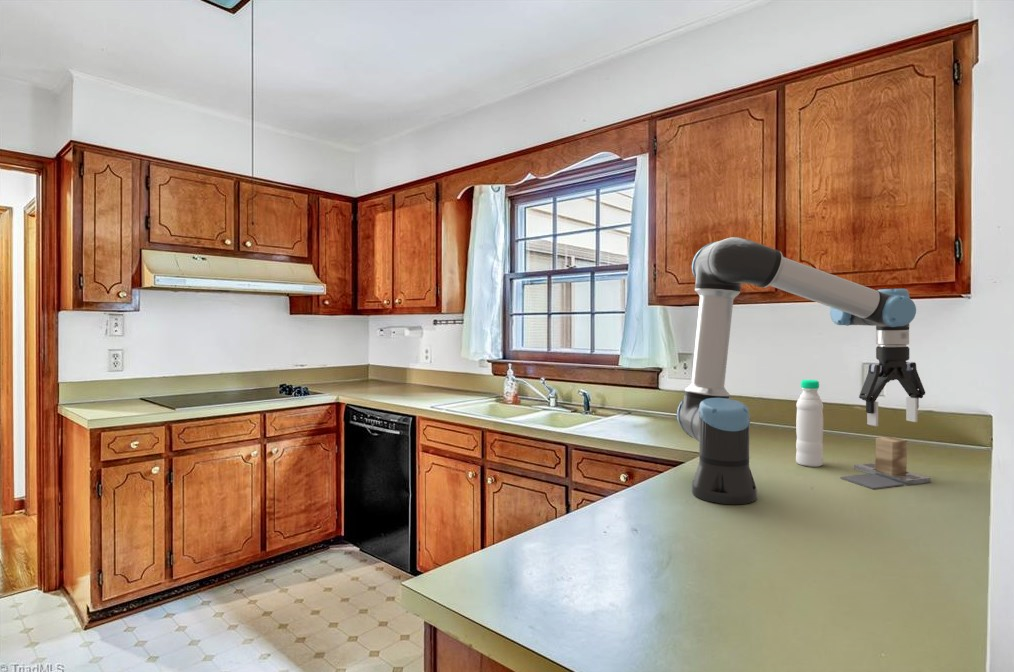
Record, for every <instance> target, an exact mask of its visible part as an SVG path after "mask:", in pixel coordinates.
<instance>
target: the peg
mask: <svg viewBox="0 0 1014 672" xmlns="http://www.w3.org/2000/svg"><path fill="white" fill-rule="evenodd" d="M907 450H908V440H904V439H902V438H897V437H893V436H885V437H883V436H882V437H876V438H875V462H874V463H875V470H877V471H880V472H883V473H887V474H890V475H898V474H906V471H907V463H908V462H907V459H908V458H907V457H908V456H907V455H908V451H907Z"/></svg>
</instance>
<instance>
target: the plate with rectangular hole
mask: <svg viewBox="0 0 1014 672" xmlns="http://www.w3.org/2000/svg"><path fill="white" fill-rule="evenodd" d="M853 470H857V471H860V472H863V473H866V474H873V475H876V476H879V477H882V478H886V479H889V480H892V481H895V482H899V483H902V484H904V486H910V485H911V486H912V485H922V484H928V483H931V479H932V478H931V477H930V476H929V477H928V476H926V475H923V474H922V475H921V474H918V473H915V472H912V471H908V470H906V474H898V475H890V474H887V473H883V472H880V471H877V470H875V462H867V463H859V464H854V465H853Z"/></svg>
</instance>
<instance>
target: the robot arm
mask: <svg viewBox="0 0 1014 672" xmlns="http://www.w3.org/2000/svg"><path fill="white" fill-rule="evenodd" d="M691 272H692V275H693V277H694V279H695V286H694V291H695V292H696V293H697V295H698V296H699V301H698V303H699V304H698V305H699V306H698V312H697V314H698V315H697V321H696V322H697V323H696V331H695V340H694V342H695V343H694V351H693V352H694V353H693V362H692V370H691V371H692V372H691V381H690V384H689V385H688V386H686V387H684V392H683V399H682V400H681V401H680V403H679V405H678V407H677V410H676V418H677V422H678V425H679V426H680V428H681V429H682V430H683V432H684V433H686V435H688V436H689V437H690V438H693V439H695V440H696V441H698V443H699V444H698V445H699V446H698V448H699V449H698V452H699V454H698V455H699V457H698V458H699V461H698V466H697V468H696V470H695V471H696V472H695V475H694V478H693V481H692V482H691V493H692V494H693V496H695V497H697V498H698V499H700V498H701V499H700V500H703V501H707V502H710V501H711V503H714V502H715V503H716V504H720V505H721V504H722V505H746V504H751V503H753V502H755V501H756V500H757V499H758V489H757V486H756V483H755V479H754V476H753V474H752V470H751V468H750V431H751V430H750V429H751V428H750V425H751V424H750V423H751V418H750V410H749V408H748V406H747V405H746V404H745V403H743V402H741V401H739V400H737V399H736V400H735V399H732V398H730V393H729V392H728V391H727V390H726V387H725V385H726V384H725V383H726V382H725V381H726V374H727V362H728V354H729V346H730V345H729V344H730V335H731V325H732V316H733V307H734V300H735V298H736V297H738V296H739V294H741V289H742V284H749V285H754V286H757V287H760V288H762V289H763V288H768V287H773V288H776V289H778V290H781V291H783V292H786V293H789V294H792V295H795V296H798V297H801V298H804V299H806V300H809V301H813V302H816V303H818V304H821V305H823V306H825V307H830V309H829V311H830V312H829V315H830V318H831V321H832V322H833V323H834V324H835V325H837V326H847V327H848V326H870V327H871V326H873V327H874V326H875V344H876V345H877V346H876V348H875V359H876V360H878V364H873V363H871V364H869V365H868V372H867V374H866V377H865V380H864V382H863V386H862V388H861V389H860V392H859V394H858V398H859V399H861V400H862V401H865V412H866V416H867V417H866V418H867V419H866V421H867V422H866V424H867V425H869V426H872V427H879V401H877V399H878V398H879V396H880V394H881V393H882V392H883V390H884V388H885V387H886V385H887V383H890V382H891V381H895V380H896V381H898V383H899V384H900V385H901V387H902V388H903V390H904V391H905V392H906V394H907V395H908V396H906V397H905V404H906V405H905V410H906V411H905V414H906V416H905V421H908V422H912V423H918V422H919V421H918V417H919V415H918V413H919V412H918V410H919V406H920V405H919V400H920V399H922V398H924V396H925V395H926V391H925V388H924V386H923V383H922V379H920V376H919V373H918V370H917V363H916V362H915V361H909V360H910V347H909V346H907V345H910V323H911V322H912V321H914V319H915V317H916V314H917V305H916V304H915V302H914V301H913V300H912V299H911V298H910V292H909V290H908V289H906V288H883V289H877V290H876V289H873V288H870V287H867V286H864V285H862V284H859V283H856V282H854V281H851V280H850V279H845V278H842V277H840V276H838V275H835V274H832V273H828V272H826V271H823V270H821V269H817V268H815V267H812V266H810V265H806V264H804V263H801V262H798V261H796V260H793V259H789V258H788V257H785V256H784V255H783V253H782V252H781V251H780V250H778V249H775V248H772V247H769V246H768V245H764V244H762V243H759V242H756V241H753V240H750V239H747V238H742V237H737V236H734V237H733V236H732V237H728V238H725V239H722V240H719V241H718V240H717V241H714V242H713V241H712V242H710V243H708V244H706V245H704V246H703V247H701V248H700V249H699V250H698V251H697V252H696V253H695V255H694V257H693V260H692V263H691Z"/></svg>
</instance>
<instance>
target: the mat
mask: <svg viewBox="0 0 1014 672" xmlns="http://www.w3.org/2000/svg"><path fill="white" fill-rule="evenodd" d="M840 479H841V480H844V481H847V482H851V483H853V484H856V485H859V486H862V487H865V488H868V489H869V490H870V489H871V490H878V489H879V490H880V489H887V488H888V489H889V488H895V487H904V486H905V485H904V484H902V483H899V482H895V481H892V480H889V479H886V478H882V477H879V476H876V475H873V474H869V473H866V474H865V473H864V474H863V473H862V474H854V475H846V476H840Z"/></svg>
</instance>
